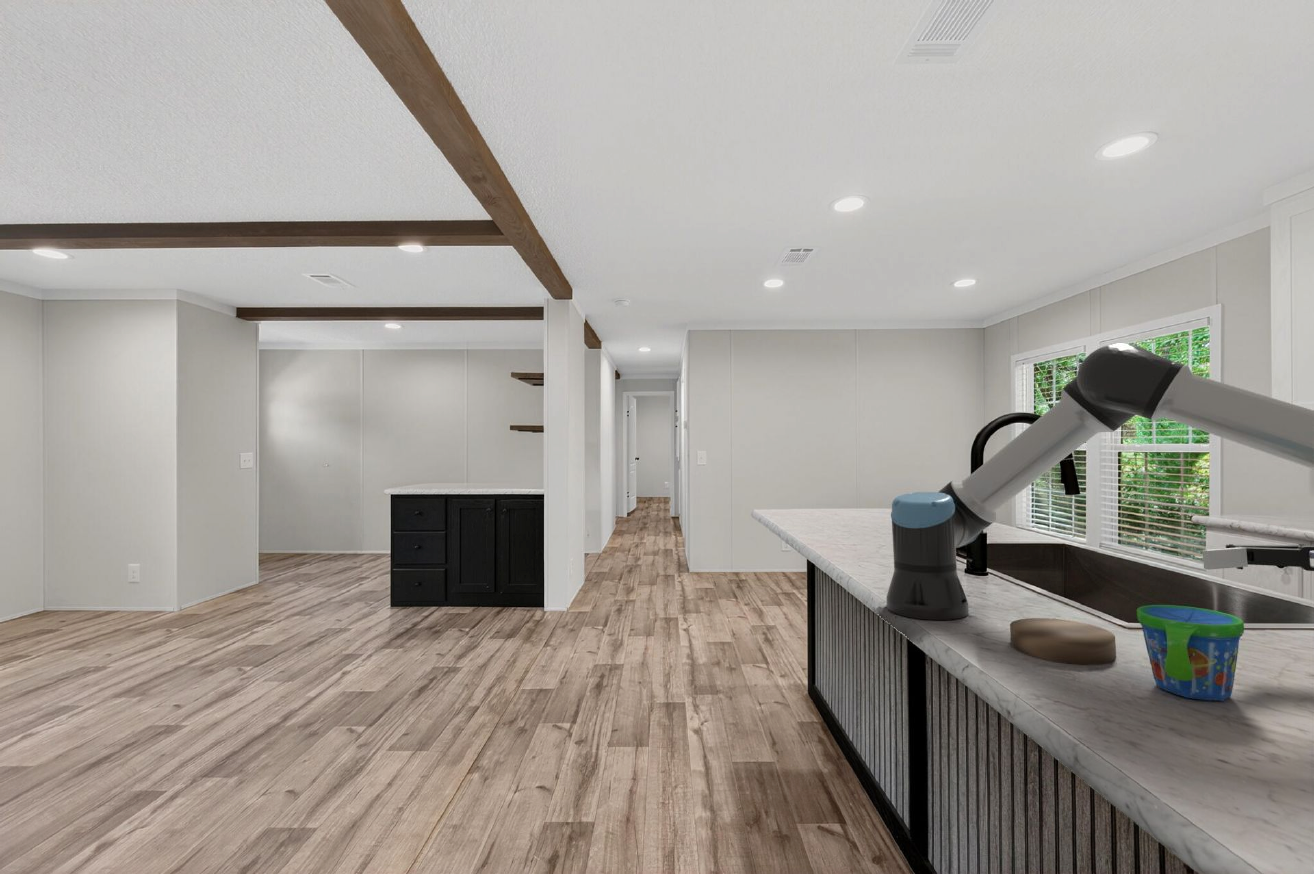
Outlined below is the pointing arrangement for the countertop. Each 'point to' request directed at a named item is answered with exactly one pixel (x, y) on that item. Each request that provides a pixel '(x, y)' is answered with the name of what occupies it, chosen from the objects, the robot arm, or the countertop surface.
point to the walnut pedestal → (1063, 641)
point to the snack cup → (1192, 649)
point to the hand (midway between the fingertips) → (1258, 568)
